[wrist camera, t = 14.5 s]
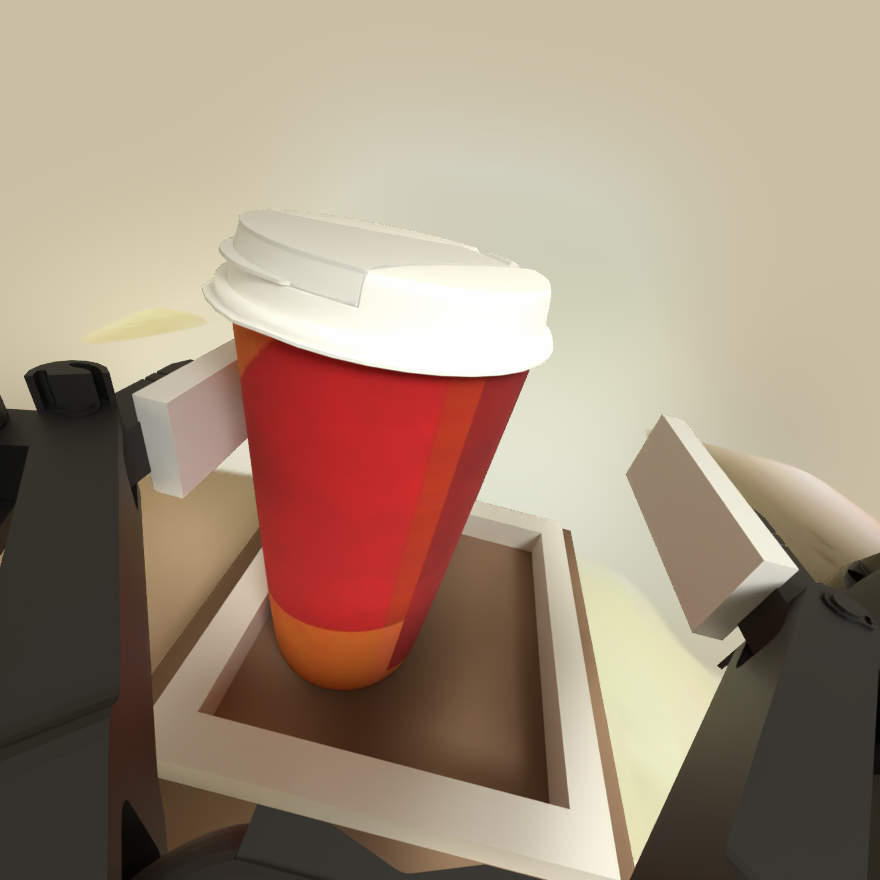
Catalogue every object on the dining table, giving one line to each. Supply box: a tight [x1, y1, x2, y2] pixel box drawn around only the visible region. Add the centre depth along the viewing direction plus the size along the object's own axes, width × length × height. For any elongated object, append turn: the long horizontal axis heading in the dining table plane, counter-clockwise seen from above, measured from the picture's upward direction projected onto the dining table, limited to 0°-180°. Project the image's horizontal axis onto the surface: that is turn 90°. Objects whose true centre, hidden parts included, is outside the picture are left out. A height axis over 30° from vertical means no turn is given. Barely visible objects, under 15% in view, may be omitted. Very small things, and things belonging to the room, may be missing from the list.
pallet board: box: [152, 500, 635, 880], centre depth 17 cm, size 16×16×4 cm
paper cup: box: [202, 210, 553, 691], centre depth 13 cm, size 8×8×14 cm
